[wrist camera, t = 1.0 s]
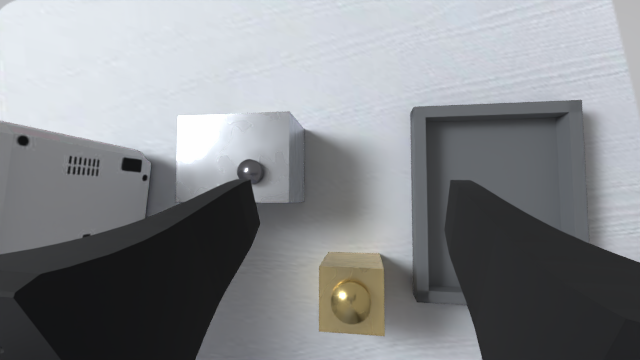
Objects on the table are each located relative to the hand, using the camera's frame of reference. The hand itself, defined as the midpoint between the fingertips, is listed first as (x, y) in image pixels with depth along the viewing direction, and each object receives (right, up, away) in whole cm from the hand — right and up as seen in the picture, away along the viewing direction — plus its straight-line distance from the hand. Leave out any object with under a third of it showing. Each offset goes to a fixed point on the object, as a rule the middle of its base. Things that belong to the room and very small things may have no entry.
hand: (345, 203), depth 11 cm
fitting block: (+2, -7, +12) cm, 14 cm away
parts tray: (+12, -1, +11) cm, 16 cm away
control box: (-6, +2, +14) cm, 15 cm away
